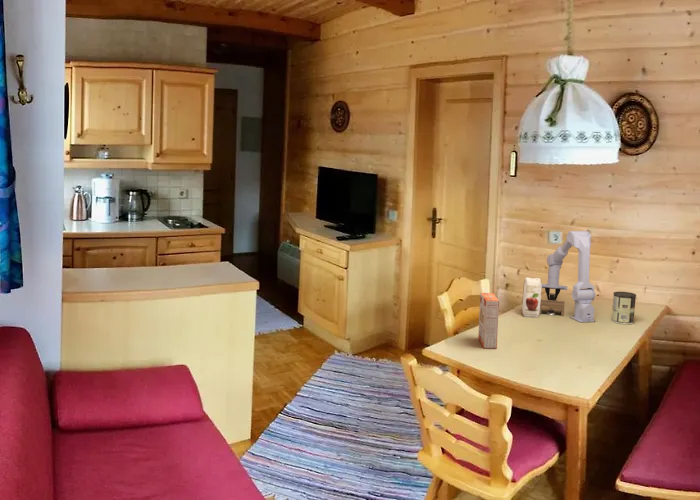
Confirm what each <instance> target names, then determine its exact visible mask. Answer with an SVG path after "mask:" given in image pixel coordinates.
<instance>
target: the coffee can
mask: <svg viewBox="0 0 700 500" xmlns="http://www.w3.org/2000/svg"><path fill="white" fill-rule="evenodd" d="M636 299H637V293H634V292H630V291H629V292H628V291H614V292H613V299H612V308H611V309H612V311H611V319H610V321H611V322H613V323H615V324H619V325H633V324H634V320H635V310H636V309H635V307H636Z"/></svg>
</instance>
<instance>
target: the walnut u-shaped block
mask: <svg viewBox="0 0 700 500" xmlns="http://www.w3.org/2000/svg"><path fill="white" fill-rule="evenodd" d="M565 306H566V305H565V301H562V300H556V301H553V300H548V299H541V302H540V313H539V315H542V311H543V310H545V311H548V310H554V312H555V311H557V312H560V316H561V317H564V315H565Z"/></svg>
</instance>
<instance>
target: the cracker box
mask: <svg viewBox="0 0 700 500" xmlns="http://www.w3.org/2000/svg"><path fill="white" fill-rule="evenodd" d="M479 295H480V296H479V313H478V314H479V316H478V335H477V337H478V338H477V339H478V340H479V342H480V344H481V346H482V348H483V349H496V350H497V348H498V333H499V332H498V331H499V312H500V311H499V309H500V300H499V299H498V297H497V296H496V295H495V294H494V293H493V292H480V294H479Z"/></svg>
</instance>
